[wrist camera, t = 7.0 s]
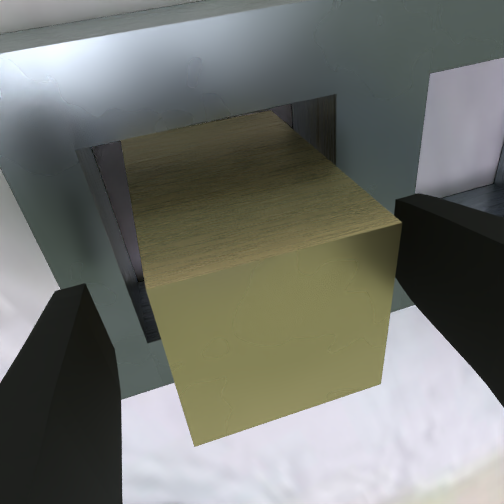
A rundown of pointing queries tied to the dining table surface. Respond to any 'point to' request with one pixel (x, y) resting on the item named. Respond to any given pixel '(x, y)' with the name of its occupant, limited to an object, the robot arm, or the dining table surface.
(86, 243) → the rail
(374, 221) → the square peg
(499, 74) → the dining table surface
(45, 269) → the dining table surface
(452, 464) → the dining table surface
